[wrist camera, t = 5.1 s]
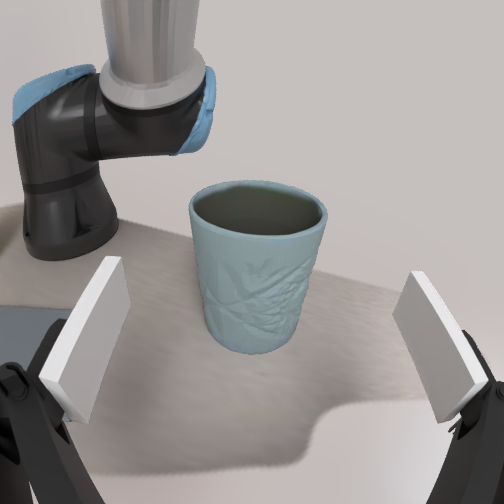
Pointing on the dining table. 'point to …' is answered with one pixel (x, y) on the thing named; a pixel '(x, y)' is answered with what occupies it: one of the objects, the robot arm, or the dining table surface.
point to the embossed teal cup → (254, 259)
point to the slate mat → (25, 333)
